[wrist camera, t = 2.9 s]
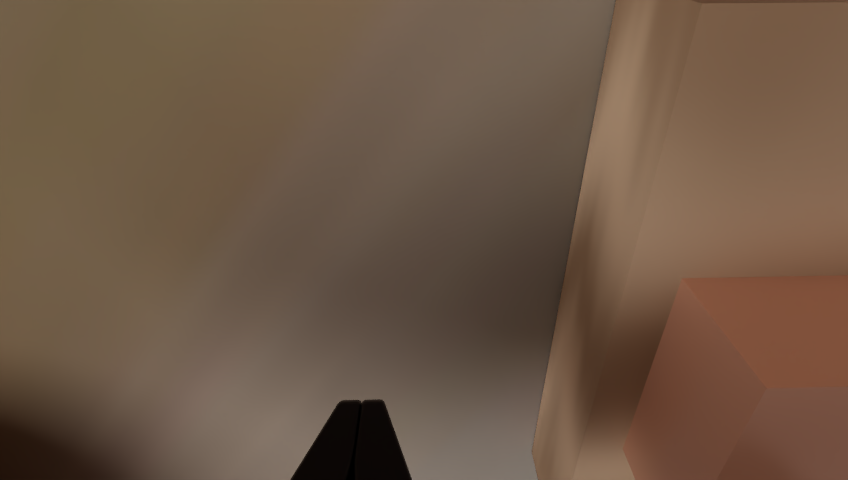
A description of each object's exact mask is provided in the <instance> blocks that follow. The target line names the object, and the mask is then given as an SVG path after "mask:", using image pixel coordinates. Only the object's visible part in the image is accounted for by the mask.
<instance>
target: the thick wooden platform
mask: <svg viewBox="0 0 848 480" xmlns="http://www.w3.org/2000/svg"><path fill="white" fill-rule="evenodd" d="M837 275H848V0H616V3H615V8H614V13H613V19H612V24H611V30H610V35H609V40H608V46H607V51H606V56H605V62H604V67H603V72H602V78H601V83H600V89H599V94H598V99H597V105H596V110H595V115H594V121H593V126H592V132H591V137H590V142H589V148H588V153H587V158H586V164H585V169H584V174H583V180H582V185H581V191H580V196H579V201H578V207H577V212H576V217H575V223H574V228H573V233H572V239H571V244H570V250H569V255H568V260H567V266H566V271H565V276H564V282H563V287H562V292H561V298H560V303H559V309H558V314H557V319H556V325H555V330H554V335H553V341H552V346H551V351H550V357H549V362H548V368H547V373H546V378H545V384H544V389H543V394H542V400H541V405H540V410H539V416H538V421H537V427H536V432H535V437H534V443H533V448H532V455H533V459H534V463H535V468H536V472H537V476H538V480H635V478H634V475H633V473H632V471H631V468H630V466H629V463H628V461H627V458H626V456H625V453H624V451H623V446H624V444H625V441H626V438H627V435H628V432H629V429H630V426H631V423H632V421H633V418H634V415H635V412H636V409H637V406H638V403H639V400H640V398H641V395H642V392H643V389H644V386H645V383H646V380H647V377H648V375H649V372H650V369H651V366H652V363H653V360H654V357H655V354H656V351H657V349H658V346H659V343H660V340H661V337H662V334H663V331H664V328H665V326H666V323H667V320H668V317H669V314H670V311H671V308H672V305H673V303H674V300H675V297H676V294H677V291H678V288H679V285H680V282H681V280H682V278H727V277H782V276H837Z"/></svg>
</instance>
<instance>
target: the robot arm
mask: <svg viewBox="0 0 848 480" xmlns="http://www.w3.org/2000/svg"><path fill="white" fill-rule="evenodd" d="M291 480H412V478H411V476H410V473H409V470H408V467H407V464H406V462H405V459H404V456H403V453H402V450H401V448H400V445H399V442H398V439H397V436H396V434H395V431H394V428H393V425H392V422H391V419H390V417H389V414H388V411H387V408H386V405H385V403H384V401H383V400H380V399H378V400H364V401H363V402H362V403H361V401H360V400H343V401H340V402H339V403H338V404H337V406H336V408H335V409H334V411H333V412H332V414H331V416H330V417H329V419H328V420H327V422H326V424H325V425H324V427H323V428H322V430H321V432H320V433H319V435H318V436H317V438H316V440H315V441H314V443H313V444H312V446H311V448H310V449H309V451H308V452H307V454H306V456H305V457H304V459H303V460H302V462H301V464H300V465H299V467H298V468H297V470H296V472H295V473H294V475H293V476H292V478H291Z"/></svg>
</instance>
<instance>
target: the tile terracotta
mask: <svg viewBox="0 0 848 480" xmlns="http://www.w3.org/2000/svg"><path fill="white" fill-rule="evenodd" d="M623 451H624V453H625V456H626V458H627V461H628V463H629V466H630V468H631V471H632V473H633V475H634V478H635V480H848V275H837V276H782V277H727V278H682V280H681V282H680V285H679V288H678V291H677V294H676V297H675V300H674V303H673V305H672V308H671V311H670V314H669V317H668V320H667V323H666V326H665V328H664V331H663V334H662V337H661V340H660V343H659V346H658V349H657V351H656V354H655V357H654V360H653V363H652V366H651V369H650V372H649V375H648V377H647V380H646V383H645V386H644V389H643V392H642V395H641V398H640V400H639V403H638V406H637V409H636V412H635V415H634V418H633V421H632V423H631V426H630V429H629V432H628V435H627V438H626V441H625V444H624V446H623Z"/></svg>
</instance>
